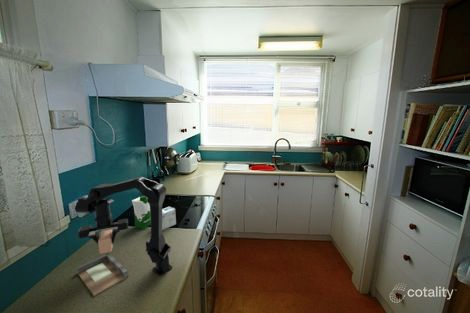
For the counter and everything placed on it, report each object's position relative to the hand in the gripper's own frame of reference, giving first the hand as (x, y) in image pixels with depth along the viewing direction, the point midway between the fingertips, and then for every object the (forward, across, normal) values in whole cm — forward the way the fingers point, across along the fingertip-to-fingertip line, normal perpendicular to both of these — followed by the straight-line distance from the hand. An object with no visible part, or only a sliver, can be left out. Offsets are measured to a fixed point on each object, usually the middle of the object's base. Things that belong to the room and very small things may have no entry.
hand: (106, 245), depth 95 cm
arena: (+11, +2, +5) cm, 12 cm away
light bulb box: (+11, -29, -28) cm, 42 cm away
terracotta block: (+1, 0, 0) cm, 1 cm away
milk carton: (+11, -16, -35) cm, 40 cm away
